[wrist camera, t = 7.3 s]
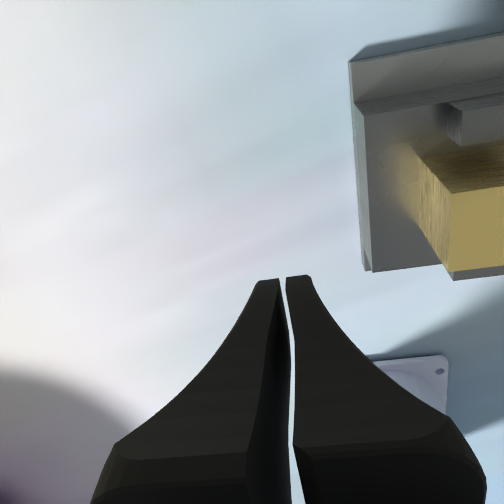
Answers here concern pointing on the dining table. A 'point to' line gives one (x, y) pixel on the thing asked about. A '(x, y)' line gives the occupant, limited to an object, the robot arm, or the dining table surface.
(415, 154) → the grey stepped metal block
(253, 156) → the dining table surface
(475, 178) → the link bar
